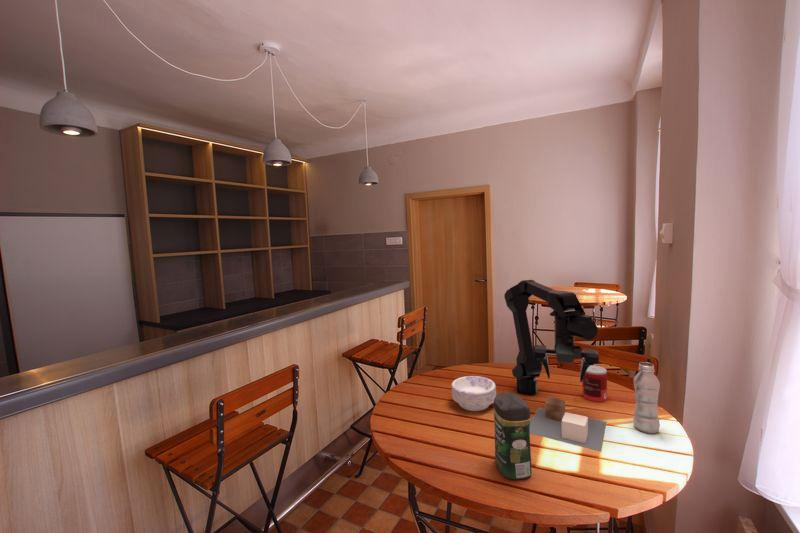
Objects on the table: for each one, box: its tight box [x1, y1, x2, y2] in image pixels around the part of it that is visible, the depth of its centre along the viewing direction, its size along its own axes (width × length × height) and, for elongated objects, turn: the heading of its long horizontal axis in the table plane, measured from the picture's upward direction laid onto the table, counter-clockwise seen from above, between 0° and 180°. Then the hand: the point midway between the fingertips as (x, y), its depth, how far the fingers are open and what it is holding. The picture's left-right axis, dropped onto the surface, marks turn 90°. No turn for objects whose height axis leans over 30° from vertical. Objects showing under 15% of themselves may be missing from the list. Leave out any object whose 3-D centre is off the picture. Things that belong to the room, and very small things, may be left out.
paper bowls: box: [451, 375, 497, 412], centre depth 125 cm, size 15×15×8 cm
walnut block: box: [544, 396, 566, 422], centre depth 114 cm, size 5×5×5 cm
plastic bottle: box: [632, 362, 661, 435], centre depth 104 cm, size 6×7×20 cm
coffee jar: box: [493, 392, 533, 481], centre depth 89 cm, size 10×8×19 cm
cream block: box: [562, 411, 589, 443], centre depth 102 cm, size 6×6×5 cm
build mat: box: [530, 407, 608, 453], centre depth 108 cm, size 20×18×1 cm
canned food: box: [581, 364, 608, 403], centre depth 126 cm, size 8×8×11 cm
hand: (564, 379), depth 114 cm, fingers open, 9 cm apart
